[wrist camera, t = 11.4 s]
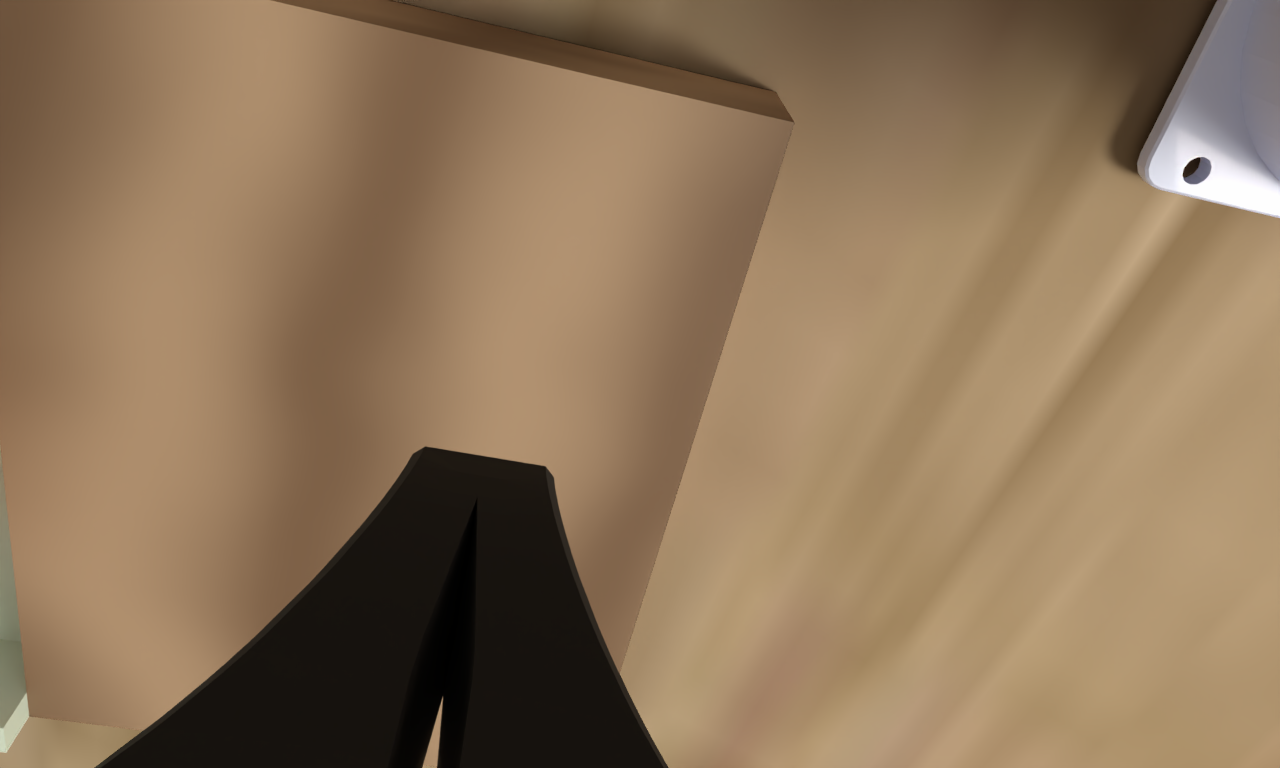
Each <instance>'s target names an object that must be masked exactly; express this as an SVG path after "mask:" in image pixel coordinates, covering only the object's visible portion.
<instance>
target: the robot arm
mask: <svg viewBox="0 0 1280 768" xmlns="http://www.w3.org/2000/svg"><path fill="white" fill-rule="evenodd" d="M1197 157H1200V160H1201V161H1200V164H1199V167H1198V169H1197V170H1196V171H1195V172H1194V173H1193V174H1191V175H1190V176H1188V177H1183V176H1182V174H1183V171H1184V167H1185V166H1186V165H1187V164H1188V163H1189V161H1191V160H1193V159H1195V158H1197ZM1137 168H1138V174H1139V175H1140V176H1141V178H1142V179H1143V181H1145V182H1146V183H1148V184H1149V185H1151V186H1153V187H1155V188H1157V189H1159V190H1163V191H1167V192H1172V193H1176V194H1180V195H1184V196H1188V197H1193V198H1197V199H1201V200H1205V201H1210V202H1214V203H1218V204H1222V205H1226V206H1231V207H1235V208H1239V209H1243V210H1248V211H1252V212H1256V213H1260V214H1265V215H1269V216H1273V217H1277V218H1280V0H1217V2H1216V4H1215V6H1214V8H1213V10H1212V12H1211V14H1210V15H1209V17H1208V19H1207V21H1206V23H1205V25H1204V27H1203V29H1202V31H1201V33H1200V35H1199V37H1198V39H1197V41H1196V43H1195V45H1194V47H1193V49H1192V51H1191V53H1190V55H1189V57H1188V59H1187V61H1186V63H1185V65H1184V67H1183V69H1182V71H1181V73H1180V75H1179V77H1178V79H1177V81H1176V83H1175V85H1174V87H1173V89H1172V91H1171V93H1170V95H1169V97H1168V99H1167V101H1166V103H1165V105H1164V107H1163V109H1162V111H1161V113H1160V115H1159V117H1158V119H1157V121H1156V123H1155V125H1154V127H1153V129H1152V131H1151V133H1150V135H1149V137H1148V139H1147V141H1146V143H1145V145H1144V147H1143V149H1142V151H1141V153H1140V156H1139V159H1138V162H1137ZM442 698H443V703H442V714H441V726H440V738H439V749H438V761H437V768H668V766H667V764H666V763H665V761H664V759H663V757H662V756H661V754H660V752H659V750H658V749H657V747H656V745H655V743H654V742H653V740H652V738H651V736H650V734H649V732H648V730H647V728H646V727H645V725H644V723H643V721H642V719H641V717H640V715H639V713H638V711H637V709H636V707H635V705H634V703H633V701H632V699H631V697H630V695H629V693H628V691H627V689H626V687H625V685H624V682H623V680H622V678H621V676H620V674H619V672H618V670H617V667H616V665H615V663H614V661H613V659H612V657H611V655H610V652H609V650H608V648H607V645H606V643H605V640H604V638H603V636H602V633H601V631H600V629H599V626H598V624H597V621H596V619H595V616H594V613H593V611H592V608H591V606H590V603H589V600H588V598H587V595H586V593H585V590H584V587H583V585H582V582H581V579H580V577H579V574H578V571H577V568H576V565H575V562H574V559H573V556H572V553H571V549H570V546H569V543H568V539H567V536H566V533H565V529H564V525H563V522H562V518H561V514H560V510H559V505H558V500H557V495H556V490H555V482H554V477H553V475H552V474H551V473H550V471H549V470H548V469H547V467H546V466H541V465H535V464H529V463H523V462H517V461H511V460H505V459H499V458H493V457H487V456H481V455H475V454H469V453H463V452H457V451H451V450H445V449H439V448H433V447H427V446H425V447H423V448H422V449H420V450H418V451H417V452H415V453H413V454H412V456H411V458H410V459H409V461H408V463H407V465H406V466H405V468H404V469H403V471H402V472H401V474H400V475H399V477H398V478H397V480H396V481H395V482H394V484H393V485H392V487H391V488H390V489H389V491H388V492H387V493H386V495H385V496H384V497H383V499H382V500H381V501H380V503H379V504H378V505H377V506H376V508H375V509H374V510H373V511H372V513H371V514H370V515H369V516H368V518H367V519H366V520H365V521H364V522H363V524H362V525H361V526H360V527H359V528H358V530H357V531H356V532H355V533H354V534H353V535H352V536H351V537H350V539H349V540H348V541H347V542H346V543H345V544H344V545H343V546H342V548H341V549H340V550H339V551H338V552H337V553H336V554H335V555H334V557H333V558H332V559H331V560H330V561H329V562H328V563H327V564H326V566H325V567H324V568H323V569H322V570H321V571H320V572H319V573H318V574H317V575H316V576H315V578H314V579H313V580H312V581H311V582H310V583H309V584H308V585H307V586H306V587H305V588H304V589H303V590H302V591H301V592H300V593H299V594H298V595H297V596H296V597H295V598H294V599H293V600H292V601H291V602H290V603H289V604H288V605H287V606H285V607H284V608H283V609H282V610H281V611H280V612H279V613H278V614H277V615H276V616H275V617H274V618H273V619H272V620H271V621H270V622H269V623H268V624H267V625H266V626H265V627H264V628H263V629H262V630H261V631H260V632H259V633H258V634H257V635H256V636H255V637H254V638H253V639H252V640H251V641H250V642H248V643H247V644H246V645H245V646H244V647H243V648H242V649H241V650H240V651H238V652H237V653H236V654H235V655H234V656H233V657H232V658H231V659H230V660H228V661H227V662H226V663H225V664H224V665H223V666H222V667H221V668H219V669H218V670H217V671H216V672H215V673H214V674H212V675H211V676H210V677H209V678H208V679H207V680H206V681H204V682H203V683H202V684H201V685H199V686H198V687H197V688H196V689H195V690H193V691H192V692H191V693H190V694H189V695H187V696H186V697H185V698H184V699H183V700H181V701H180V702H179V703H178V704H177V705H175V706H174V707H173V708H172V709H171V710H169V711H168V712H167V713H166V714H164V715H163V716H162V717H161V718H159V719H158V720H157V721H155V722H154V723H153V724H151V725H150V726H149V727H147V728H146V729H145V730H144V731H142V732H141V733H140V734H138V735H137V736H136V737H134V738H133V739H132V740H130V741H129V742H128V743H126V744H125V745H124V746H122V747H121V748H120V749H118V750H117V751H116V752H115V753H113V754H112V755H111V756H109V757H108V758H107V759H105V760H104V761H103V762H101V763H100V764H99V765H97V766H96V767H95V768H422V767H423V763H424V760H425V757H426V753H427V750H428V746H429V743H430V739H431V736H432V732H433V729H434V725H435V722H436V719H437V715H438V712H439V708H440V705H441V701H442Z"/></svg>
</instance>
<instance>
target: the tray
mask: <svg viewBox="0 0 1280 768" xmlns="http://www.w3.org/2000/svg"><path fill="white" fill-rule="evenodd" d="M28 717H29V710H28V701H27V691H26V682H25V673H24V663H23V654H22V645H21V635H20V626H19V617H18V607H17V598H16V589H15V579H14V570H13V561H12V551H11V542H10V533H9V523H8V514H7V505H6V495H5V486H4V477H3V467H2V458H1V448H0V752H6V753H7V751H8V749H9V748H10V746H11V745H12V743H13V741H14V740H15V738H16V737H17V735H18V733H19V732H20V730H21V729H22V727H23V725H24V724H25V722H26V721H27V719H28Z"/></svg>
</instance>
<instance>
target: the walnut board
mask: <svg viewBox="0 0 1280 768" xmlns="http://www.w3.org/2000/svg"><path fill="white" fill-rule="evenodd" d="M793 126H794V121H793V119H792V118H791V116H790V114H789V113H788V111H787V110H786V108H785V106H784V105H783V103H782V101H781V100H780V98H779V96H778V95H777V93H776V92H773V91H769V90H765V89H761V88H756V87H752V86H748V85H744V84H739V83H735V82H731V81H727V80H723V79H718V78H714V77H710V76H706V75H702V74H697V73H693V72H689V71H685V70H681V69H676V68H672V67H668V66H664V65H660V64H655V63H651V62H647V61H643V60H639V59H634V58H630V57H626V56H622V55H618V54H613V53H609V52H605V51H601V50H597V49H592V48H588V47H584V46H580V45H575V44H571V43H567V42H563V41H559V40H554V39H550V38H546V37H542V36H538V35H533V34H529V33H525V32H521V31H517V30H512V29H508V28H504V27H500V26H496V25H491V24H487V23H483V22H479V21H475V20H470V19H466V18H462V17H458V16H454V15H449V14H445V13H441V12H437V11H433V10H428V9H424V8H420V7H416V6H411V5H407V4H403V3H399V2H395V1H390V0H0V448H1V458H2V467H3V477H4V486H5V495H6V505H7V514H8V523H9V533H10V542H11V551H12V561H13V570H14V579H15V589H16V598H17V607H18V617H19V626H20V635H21V645H22V654H23V663H24V673H25V682H26V691H27V701H28V710H29V716H30V717H38V718H46V719H54V720H62V721H70V722H78V723H86V724H94V725H103V726H111V727H119V728H127V729H135V730H143V731H144V730H145V729H146V728H147V727H149V726H150V725H151V724H153V723H154V722H155V721H157V720H158V719H159V718H161V717H162V716H163V715H164V714H166V713H167V712H168V711H169V710H171V709H172V708H173V707H174V706H175V705H177V704H178V703H179V702H180V701H181V700H183V699H184V698H185V697H186V696H187V695H189V694H190V693H191V692H192V691H193V690H195V689H196V688H197V687H198V686H199V685H201V684H202V683H203V682H204V681H206V680H207V679H208V678H209V677H210V676H211V675H212V674H214V673H215V672H216V671H217V670H218V669H219V668H221V667H222V666H223V665H224V664H225V663H226V662H227V661H228V660H230V659H231V658H232V657H233V656H234V655H235V654H236V653H237V652H238V651H240V650H241V649H242V648H243V647H244V646H245V645H246V644H247V643H248V642H250V641H251V640H252V639H253V638H254V637H255V636H256V635H257V634H258V633H259V632H260V631H261V630H262V629H263V628H264V627H265V626H266V625H267V624H268V623H269V622H270V621H271V620H272V619H273V618H274V617H275V616H276V615H277V614H278V613H279V612H280V611H281V610H282V609H283V608H284V607H285V606H287V605H288V604H289V603H290V602H291V601H292V600H293V599H294V598H295V597H296V596H297V595H298V594H299V593H300V592H301V591H302V590H303V589H304V588H305V587H306V586H307V585H308V584H309V583H310V582H311V581H312V580H313V579H314V578H315V576H316V575H317V574H318V573H319V572H320V571H321V570H322V569H323V568H324V567H325V566H326V564H327V563H328V562H329V561H330V560H331V559H332V558H333V557H334V555H335V554H336V553H337V552H338V551H339V550H340V549H341V548H342V546H343V545H344V544H345V543H346V542H347V541H348V540H349V539H350V537H351V536H352V535H353V534H354V533H355V532H356V531H357V530H358V528H359V527H360V526H361V525H362V524H363V522H364V521H365V520H366V519H367V518H368V516H369V515H370V514H371V513H372V511H373V510H374V509H375V508H376V506H377V505H378V504H379V503H380V501H381V500H382V499H383V497H384V496H385V495H386V493H387V492H388V491H389V489H390V488H391V487H392V485H393V484H394V482H395V481H396V480H397V478H398V477H399V475H400V474H401V472H402V471H403V469H404V468H405V466H406V465H407V463H408V461H409V459H410V458H411V456H412V454H413V453H415V452H417V451H418V450H420V449H422V448H423V447H425V446H427V447H433V448H439V449H445V450H451V451H457V452H463V453H469V454H475V455H481V456H487V457H493V458H499V459H505V460H511V461H517V462H523V463H529V464H535V465H541V466H546V467H547V469H548V470H549V471H550V473H551V474H552V475H553V477H554V482H555V490H556V495H557V500H558V505H559V510H560V514H561V518H562V522H563V525H564V529H565V533H566V536H567V539H568V543H569V546H570V549H571V553H572V556H573V559H574V562H575V565H576V568H577V571H578V574H579V577H580V579H581V582H582V585H583V587H584V590H585V593H586V595H587V598H588V600H589V603H590V606H591V608H592V611H593V613H594V616H595V619H596V621H597V624H598V626H599V629H600V631H601V633H602V636H603V638H604V640H605V643H606V645H607V648H608V650H609V652H610V655H611V657H612V659H613V661H614V663H615V665H616V667H617V670H618V672H619V674H620V671H621V667H622V664H623V661H624V658H625V655H626V652H627V649H628V645H629V642H630V639H631V636H632V633H633V630H634V627H635V623H636V620H637V617H638V614H639V611H640V608H641V605H642V601H643V598H644V595H645V592H646V589H647V586H648V582H649V579H650V576H651V573H652V570H653V567H654V564H655V560H656V557H657V554H658V551H659V548H660V545H661V542H662V538H663V535H664V532H665V529H666V526H667V523H668V520H669V516H670V513H671V510H672V507H673V504H674V501H675V498H676V494H677V491H678V488H679V485H680V482H681V479H682V475H683V472H684V469H685V466H686V463H687V460H688V457H689V453H690V450H691V447H692V444H693V441H694V438H695V435H696V431H697V428H698V425H699V422H700V419H701V416H702V413H703V409H704V406H705V403H706V400H707V397H708V394H709V391H710V387H711V384H712V381H713V378H714V375H715V372H716V368H717V365H718V362H719V359H720V356H721V353H722V350H723V346H724V343H725V340H726V337H727V334H728V331H729V328H730V324H731V321H732V318H733V315H734V312H735V309H736V306H737V302H738V299H739V296H740V293H741V290H742V287H743V284H744V280H745V277H746V274H747V271H748V268H749V265H750V261H751V258H752V255H753V252H754V249H755V246H756V243H757V239H758V236H759V233H760V230H761V227H762V224H763V221H764V217H765V214H766V211H767V208H768V205H769V202H770V199H771V195H772V192H773V189H774V186H775V183H776V180H777V177H778V173H779V170H780V167H781V164H782V161H783V158H784V154H785V151H786V148H787V145H788V142H789V139H790V136H791V132H792V129H793ZM442 703H443V698H442V701H441V705H440V708H439V712H438V715H437V719H436V722H435V725H434V729H433V732H432V736H431V739H430V743H429V746H428V750H427V753H426V757H425V760H424V763H423V765H424V766H432V767H437V761H438V749H439V738H440V726H441V714H442Z"/></svg>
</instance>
